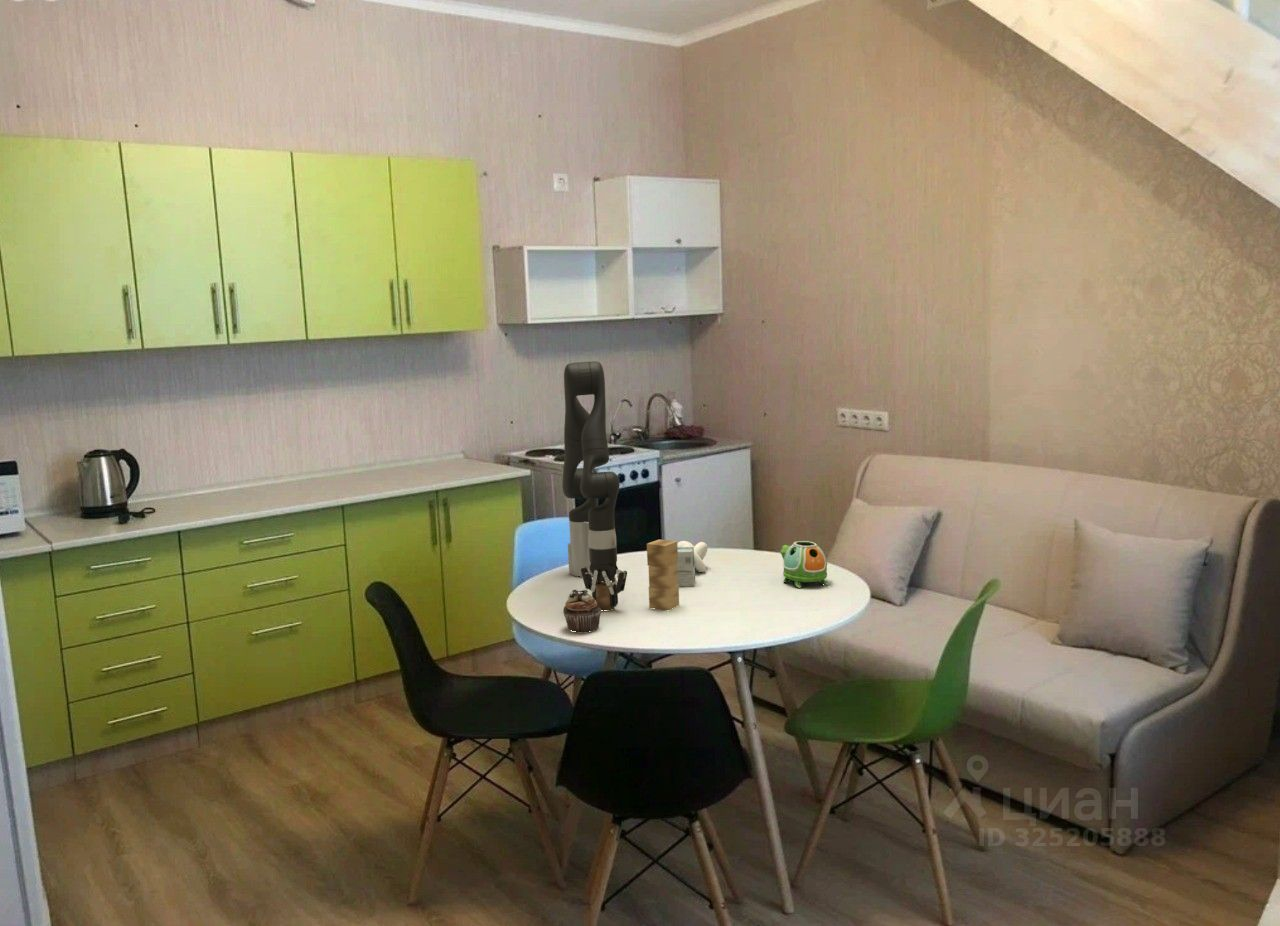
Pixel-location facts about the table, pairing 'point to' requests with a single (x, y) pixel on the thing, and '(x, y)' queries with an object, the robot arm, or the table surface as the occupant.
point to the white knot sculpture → (697, 553)
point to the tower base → (664, 598)
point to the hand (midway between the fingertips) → (605, 605)
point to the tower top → (662, 553)
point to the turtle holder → (804, 563)
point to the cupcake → (581, 612)
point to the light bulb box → (686, 566)
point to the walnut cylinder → (603, 596)
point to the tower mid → (663, 577)
